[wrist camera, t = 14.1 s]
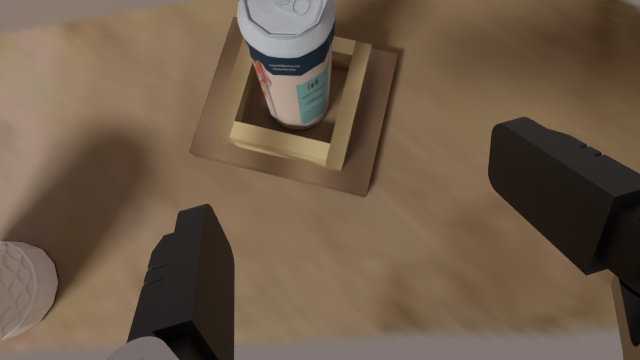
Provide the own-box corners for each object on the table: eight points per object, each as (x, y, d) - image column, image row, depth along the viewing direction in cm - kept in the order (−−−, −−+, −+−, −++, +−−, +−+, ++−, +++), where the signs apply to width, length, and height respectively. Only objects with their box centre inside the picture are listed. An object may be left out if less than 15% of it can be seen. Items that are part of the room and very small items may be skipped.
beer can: (281, 67, 29) (256, -59, 17) (337, 86, 28) (350, -29, 16) (259, 120, 28) (215, 26, 16) (316, 140, 27) (314, 60, 16)
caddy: (394, 61, 30) (405, 35, 26) (364, 197, 28) (371, 189, 24) (236, 25, 31) (225, -5, 27) (194, 155, 28) (176, 142, 25)
